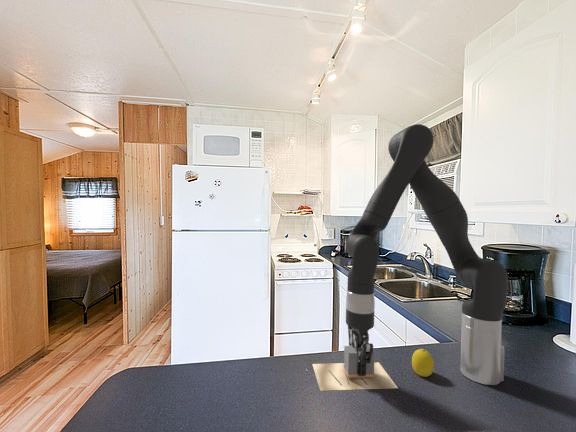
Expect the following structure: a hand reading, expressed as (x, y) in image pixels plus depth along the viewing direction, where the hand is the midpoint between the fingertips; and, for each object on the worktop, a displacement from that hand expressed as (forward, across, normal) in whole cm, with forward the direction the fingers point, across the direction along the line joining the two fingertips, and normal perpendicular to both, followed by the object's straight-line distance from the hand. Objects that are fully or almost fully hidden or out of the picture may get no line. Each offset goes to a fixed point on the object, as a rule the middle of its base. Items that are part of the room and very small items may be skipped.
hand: (358, 369), depth 75 cm
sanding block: (+1, 0, 0) cm, 1 cm away
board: (+3, 0, +2) cm, 3 cm away
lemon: (+3, 0, -18) cm, 18 cm away
